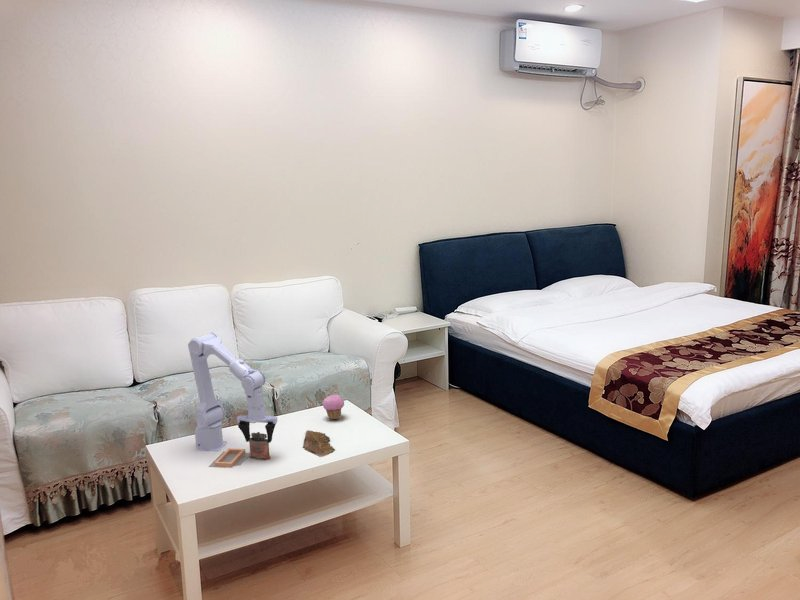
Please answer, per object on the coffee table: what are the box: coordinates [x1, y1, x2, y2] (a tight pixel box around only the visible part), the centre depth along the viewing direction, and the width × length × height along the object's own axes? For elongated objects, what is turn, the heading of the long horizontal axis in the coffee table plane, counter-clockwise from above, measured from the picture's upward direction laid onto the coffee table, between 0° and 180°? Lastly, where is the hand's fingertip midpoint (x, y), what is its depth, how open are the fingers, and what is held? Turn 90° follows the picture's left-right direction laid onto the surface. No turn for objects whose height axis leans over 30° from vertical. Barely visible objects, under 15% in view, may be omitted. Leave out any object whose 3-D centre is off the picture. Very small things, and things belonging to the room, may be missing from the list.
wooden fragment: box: [302, 429, 336, 458], centre depth 232 cm, size 26×11×1 cm, turn 18°
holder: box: [208, 448, 250, 469], centre depth 220 cm, size 11×12×2 cm
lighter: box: [248, 431, 271, 461], centre depth 221 cm, size 8×3×10 cm, turn 69°
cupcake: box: [322, 394, 345, 420], centre depth 255 cm, size 9×9×10 cm
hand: (259, 441), depth 220 cm, fingers closed on lighter, 7 cm apart
